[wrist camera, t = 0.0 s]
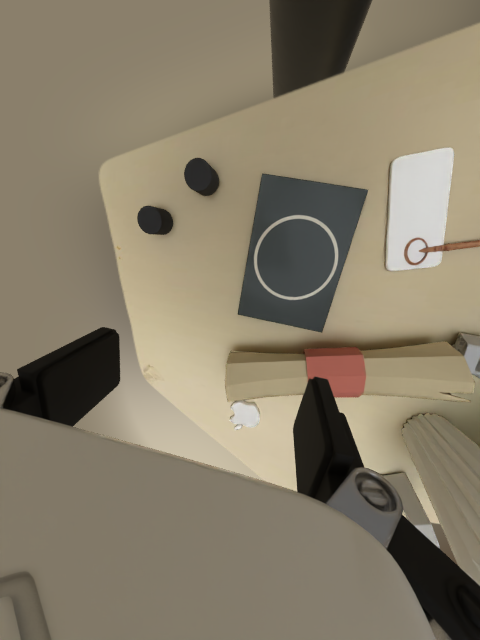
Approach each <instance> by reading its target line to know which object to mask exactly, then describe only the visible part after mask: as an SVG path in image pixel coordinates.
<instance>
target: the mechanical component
mask: <svg viewBox="0 0 480 640" xmlns="http://www.w3.org/2000/svg"><path fill="white" fill-rule="evenodd" d="M452 347H453V348H455V349H456V350H457V351H458V352H460V353H461V354H462V355H463V356H464V357H465V360H466V362H467V364H468V367H469V369H470V372H471V374H472V375H475V376H476V377H478V378H480V359H479V358H480V336H475V335H470V334H464V333H459V335H458V338H457V340H456V343H455V345H452Z"/></svg>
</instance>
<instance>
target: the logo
mask: <svg viewBox="0 0 480 640" xmlns="http://www.w3.org/2000/svg"><path fill="white" fill-rule="evenodd" d="M231 409H232V410H233V411H234V415H233V416H231V417H230V421H231V422H232V423H234V424H237V425H236V426H235V429H234V430H238V429H241V428H242V426H243V425H245V426H247V427H255V426H257V425H258V423H259V420H260V412H259V409H258V407H257V406H256V404H255V403H247V402H244V401H243V400H240V401H235V402H234V403H233V404H232V405H231Z"/></svg>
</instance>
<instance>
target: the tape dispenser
mask: <svg viewBox="0 0 480 640" xmlns="http://www.w3.org/2000/svg"><path fill="white" fill-rule="evenodd" d="M383 477H384V478H385V479H386V480H388V481H389V482H390V483H391V484H392V486H393V487H394V488H395V489H396V491H397V492H398V494H399V496H400V498H401V500H402V504H403V510H404V512H405V515H406V517H407V519H408V520H409V521H410V522H411V523H412V524H413V525H414V526H415V527H416V528H417V529H418V530H419V531H421V532H422V533H423V534H424V535H425V536H426V537H427V538H428V539H429V540H430V541H431V542H433V543H434V544H435V545H436V546H437V547H438V548H439V544H438V541H437V538H436V536H435V533H434V530H433V527H432V525H431V523H430V521H429V519H428V517H427V515H426V513H425V511H424V509H423V507H422V505H421V503H420V501H419V499H418V497H417V495H416V493H415V491H414V489H413V487H412V485H411V483H410V481H409V479H408V477H407V475H406V474H405V473H398V474H391V475H384V476H383Z"/></svg>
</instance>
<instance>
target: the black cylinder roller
mask: <svg viewBox="0 0 480 640" xmlns="http://www.w3.org/2000/svg"><path fill="white" fill-rule="evenodd" d="M184 176H185V181H186V183H187V185H188V186H189V187H190V188H191V189H193V190H194V191H196V192H198V193H200V194H201V195H204V196H209V195H212V194H213V193H214V192H215V191H216V190H217V188H218V185H219V178H218V175H217V173H216V171H215V170H214V169H213V168H212V167H211V166H210V165H209V164H208V163H207V162H206V161H205V160H204V159H201V158H195V159H192V160H191V161H189V163H188V164H187V165H186V168H185V172H184Z"/></svg>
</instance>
